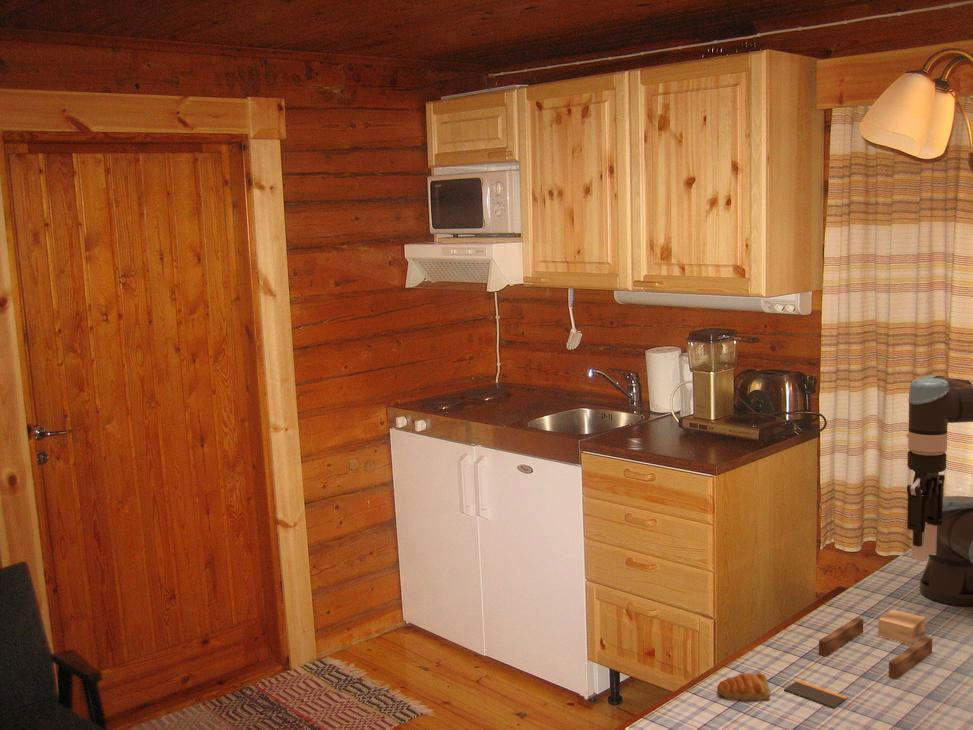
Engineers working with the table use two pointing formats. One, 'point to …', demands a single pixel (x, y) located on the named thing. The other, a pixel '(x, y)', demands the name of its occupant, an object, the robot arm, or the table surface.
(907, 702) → the table surface
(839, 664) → the table surface
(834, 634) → the lane
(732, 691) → the pastry
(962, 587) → the robot arm
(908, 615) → the block
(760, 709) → the table surface
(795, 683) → the pad
